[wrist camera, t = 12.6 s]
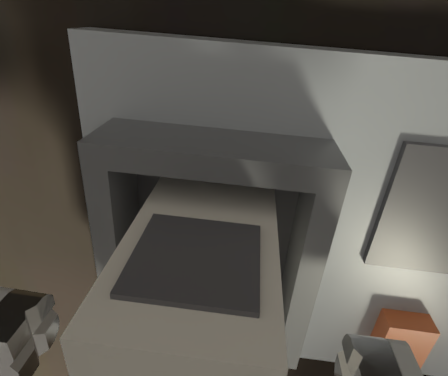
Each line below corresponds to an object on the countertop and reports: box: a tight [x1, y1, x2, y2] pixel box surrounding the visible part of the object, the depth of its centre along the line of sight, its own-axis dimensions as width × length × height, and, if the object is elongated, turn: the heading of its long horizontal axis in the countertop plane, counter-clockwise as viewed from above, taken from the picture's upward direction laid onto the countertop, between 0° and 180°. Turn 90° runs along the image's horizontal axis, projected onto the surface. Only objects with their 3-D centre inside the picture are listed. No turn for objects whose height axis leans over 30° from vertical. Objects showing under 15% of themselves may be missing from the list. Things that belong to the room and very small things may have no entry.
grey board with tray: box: [67, 27, 448, 376], centre depth 12 cm, size 18×14×4 cm
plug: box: [60, 177, 288, 376], centre depth 10 cm, size 4×5×7 cm
